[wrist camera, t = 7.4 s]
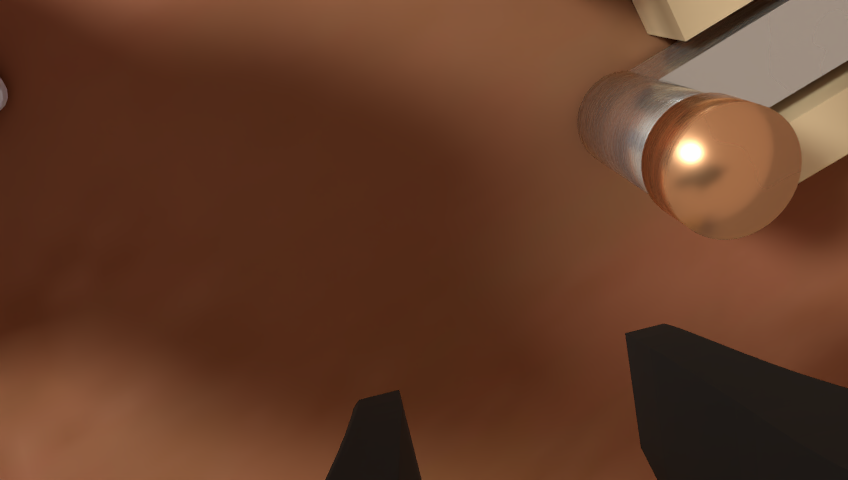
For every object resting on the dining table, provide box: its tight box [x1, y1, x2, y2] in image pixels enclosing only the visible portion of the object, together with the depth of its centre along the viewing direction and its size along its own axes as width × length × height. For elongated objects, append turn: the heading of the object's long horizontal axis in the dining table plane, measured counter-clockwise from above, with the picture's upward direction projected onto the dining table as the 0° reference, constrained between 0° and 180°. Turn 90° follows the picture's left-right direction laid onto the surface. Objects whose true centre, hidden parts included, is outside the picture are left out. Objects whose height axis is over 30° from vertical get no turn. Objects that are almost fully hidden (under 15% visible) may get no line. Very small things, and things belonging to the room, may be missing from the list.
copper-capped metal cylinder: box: [578, 0, 848, 240], centre depth 18 cm, size 7×3×6 cm, turn 121°
